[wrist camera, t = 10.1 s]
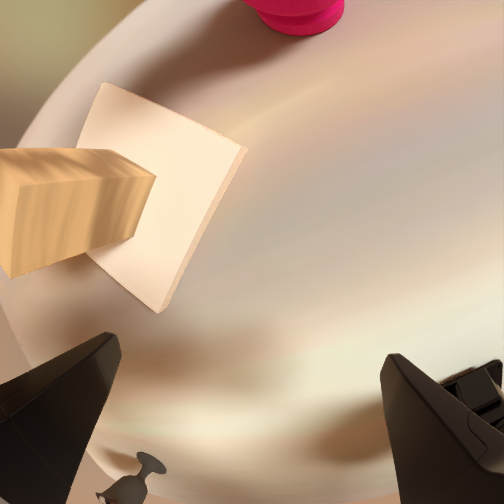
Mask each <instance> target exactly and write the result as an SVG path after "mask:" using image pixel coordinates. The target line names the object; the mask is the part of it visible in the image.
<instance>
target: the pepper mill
mask: <svg viewBox="0 0 504 504" xmlns="http://www.w3.org/2000/svg"><path fill="white" fill-rule="evenodd" d="M243 1H244V2H245V3H247V4H248V5H249V6H251V7H253V8H255V9H256V11H257V13H258V14H259V16H260V18H261V19H262V21H263V22H264V23H265V24H266V25H268V26H269V27H270V28H272V29H274V30H276V31H278V32H281V33H284V34H288V35H295V36H304V35H312V34H317V33H320V32H323V31H325V30H327V29H329V28H331V27H332V26H333V25H335V24H336V23H337V22H338V21H339V19H340V18H341V16H342V14H343V11H344V0H243Z"/></svg>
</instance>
